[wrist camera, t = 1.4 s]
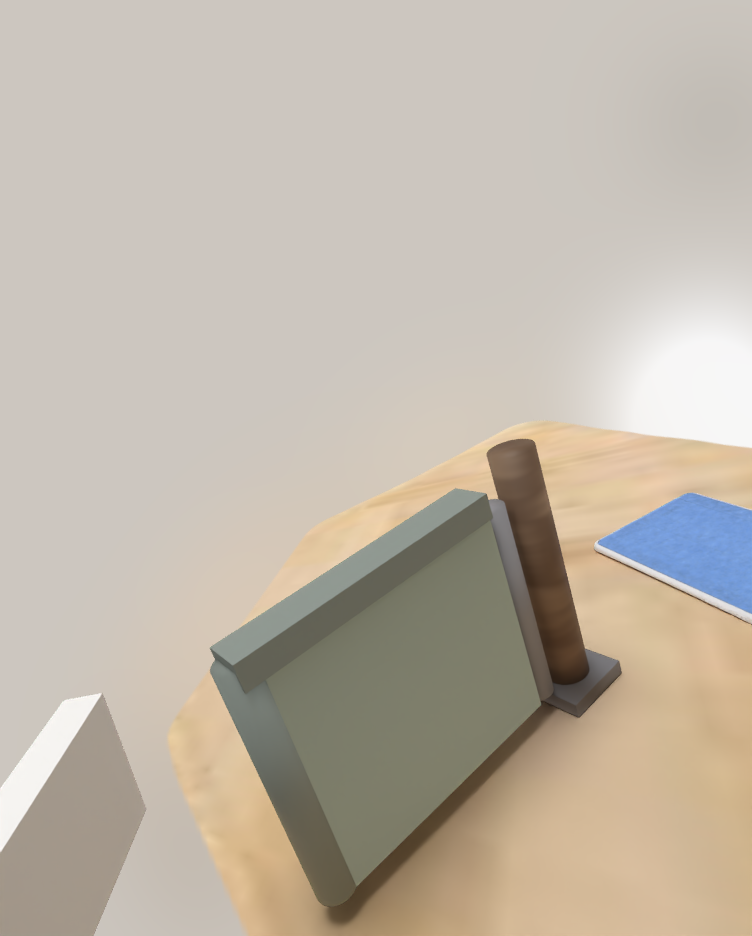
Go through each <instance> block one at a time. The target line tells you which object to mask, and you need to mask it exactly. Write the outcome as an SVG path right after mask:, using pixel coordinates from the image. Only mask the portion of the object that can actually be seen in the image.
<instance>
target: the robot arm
mask: <svg viewBox="0 0 752 936" xmlns="http://www.w3.org/2000/svg"><path fill="white" fill-rule="evenodd" d="M145 811H146V807H145V804H144V802H143V799H142V796H141V794H140V791H139V788H138V786H137V783H136V780H135V778H134V775H133V772H132V770H131V767H130V765H129V762H128V759H127V757H126V754H125V751H124V749H123V746H122V743H121V741H120V738H119V735H118V733H117V730H116V728H115V725H114V722H113V720H112V717H111V714H110V712H109V709H108V706H107V704H106V701H105V698H104V696H103V693H100V694H95V695H89V696H84V697H79V698H73V699H68V700H64V701H63V702H62V703H61V705H60V706H59V708H58V709H57V710H56V712H55V713H54V715H53V716H52V717H51V719H50V720H49V722H48V723H47V725H46V726H45V727H44V729H43V730H42V731H41V733H40V734H39V735H38V737H37V738H36V740H35V741H34V742H33V744H32V745H31V747H30V748H29V749H28V751H27V753H26V754H25V755H24V756H23V758H22V759H21V761H20V762H19V763H18V765H17V766H16V768H15V769H14V770H13V772H12V773H11V774H10V776H9V777H8V779H7V780H6V781H5V783H4V784H3V786H2V787H1V788H0V936H93V935H94V933H95V931H96V928H97V926H98V924H99V921H100V919H101V916H102V914H103V912H104V909H105V907H106V904H107V902H108V900H109V897H110V894H111V892H112V890H113V887H114V885H115V883H116V880H117V878H118V876H119V873H120V871H121V868H122V866H123V863H124V861H125V859H126V856H127V854H128V852H129V849H130V847H131V844H132V842H133V840H134V837H135V835H136V833H137V830H138V828H139V825H140V823H141V821H142V818H143V816H144V814H145Z"/></svg>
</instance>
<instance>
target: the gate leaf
mask: <svg viewBox="0 0 752 936" xmlns="http://www.w3.org/2000/svg"><path fill="white" fill-rule="evenodd" d="M210 649H211V652H212V654H213V656H214V658H215V661H214V662H213V664H212V666H211V669H210V673H211V675H212V677H213V679H214V681H215V683H216V685H217V688H218V690H219V692H220V694H221V696H222V698H223V700H224V702H225V705H226V707H227V709H228V711H229V713H230V715H231V717H232V719H233V721H234V724H235V726H236V728H237V730H238V732H239V734H240V736H241V738H242V741H243V743H244V745H245V747H246V749H247V751H248V753H249V755H250V757H251V760H252V762H253V764H254V766H255V768H256V770H257V772H258V774H259V777H260V779H261V781H262V783H263V785H264V787H265V789H266V791H267V793H268V796H269V798H270V800H271V802H272V804H273V806H274V808H275V810H276V813H277V815H278V817H279V819H280V821H281V823H282V825H283V827H284V829H285V832H286V834H287V836H288V838H289V840H290V842H291V844H292V846H293V849H294V851H295V853H296V855H297V857H298V859H299V861H300V863H301V865H302V868H303V870H304V872H305V874H306V876H307V878H308V880H309V882H310V885H311V887H312V889H313V891H314V893H315V895H316V897H317V899H318V901H319V902H320V903H321V904H322V905H324V906H328V907H334V906H338V905H340V904H342V903H344V902H346V901H347V900H348V899H349V898H350V897H351V896H352V895H353V893H354V892H355V890H356V887H357V886H358V885H359V884H360V883H361V882H362V881H363V880H364V879H365V878H366V877H367V876H368V875H369V874H370V873H371V872H372V871H373V870H374V869H375V868H376V867H377V866H378V865H379V864H380V863H381V862H382V861H383V860H384V859H385V858H386V857H387V856H388V855H389V854H390V853H391V852H392V851H393V850H394V849H396V848H397V847H398V846H399V845H400V844H401V843H402V842H403V841H404V840H405V839H406V838H407V837H408V836H409V835H410V834H411V833H412V832H413V831H414V830H415V829H416V828H417V827H418V826H419V825H420V824H421V823H422V822H423V821H424V820H425V819H426V818H427V817H428V816H429V815H430V814H431V813H432V812H433V811H434V810H435V809H436V808H437V807H438V806H439V805H440V804H441V803H442V802H443V801H444V800H445V799H446V798H447V797H448V796H449V795H450V794H451V793H452V792H453V791H454V790H455V789H456V788H457V787H459V786H460V785H461V784H462V783H463V782H464V781H465V780H466V779H467V778H468V777H469V776H470V775H471V774H472V773H473V772H474V771H475V770H476V769H477V768H478V767H479V766H480V765H481V764H482V763H483V762H484V761H485V760H486V759H487V758H488V757H489V756H490V755H491V754H492V753H493V752H494V751H495V750H496V749H497V748H498V747H499V746H500V745H501V744H502V743H503V742H504V741H505V740H506V739H507V738H508V737H509V736H510V735H511V734H512V733H513V732H514V731H515V730H516V729H517V728H518V727H519V726H520V725H522V724H523V723H524V722H525V721H526V720H527V719H528V718H529V717H530V716H531V715H532V714H533V713H534V712H535V711H536V710H537V709H538V708H539V707H540V706H541V701H540V700H544V699H547V698H548V697H550V696H551V695H552V694H553V692H554V686H553V683H552V679H551V675H550V671H549V668H548V664H547V660H546V656H545V653H544V649H543V645H542V641H541V638H540V634H539V630H538V626H537V623H536V619H535V615H534V611H533V608H532V604H531V600H530V596H529V593H528V589H527V585H526V581H525V578H524V574H523V570H522V566H521V563H520V559H519V555H518V551H517V548H516V544H515V540H514V536H513V533H512V529H511V525H510V521H509V518H508V514H507V510H506V506H505V503H504V501H502V500H499V499H492V500H488V497H487V494H486V493H480V492H474V491H468V490H462V489H456V488H455V489H454V490H452V491H451V492H449V493H448V494H446V495H444V496H443V497H441V498H440V499H438V500H437V501H435V502H434V503H432V504H431V505H429V506H427V507H426V508H424V509H423V510H421V511H420V512H418V513H417V514H415V515H414V516H412V517H410V518H409V519H407V520H406V521H404V522H403V523H401V524H400V525H398V526H397V527H395V528H393V529H392V530H390V531H389V532H387V533H386V534H384V535H383V536H381V537H380V538H378V539H377V540H375V541H373V542H372V543H370V544H369V545H367V546H366V547H364V548H363V549H361V550H360V551H358V552H356V553H355V554H353V555H352V556H350V557H349V558H347V559H346V560H344V561H343V562H341V563H339V564H338V565H336V566H335V567H333V568H332V569H330V570H329V571H327V572H326V573H324V574H323V575H321V576H319V577H318V578H316V579H315V580H313V581H312V582H310V583H309V584H307V585H306V586H304V587H302V588H301V589H299V590H298V591H296V592H295V593H293V594H292V595H290V596H289V597H287V598H285V599H284V600H282V601H281V602H279V603H278V604H276V605H275V606H273V607H272V608H270V609H269V610H267V611H265V612H264V613H262V614H261V615H259V616H258V617H256V618H255V619H253V620H252V621H250V622H248V623H247V624H245V625H244V626H242V627H241V628H239V629H238V630H236V631H235V632H233V633H231V634H230V635H228V636H227V637H225V638H224V639H222V640H221V641H219V642H218V643H216V644H215V645H213V646H211V647H210Z"/></svg>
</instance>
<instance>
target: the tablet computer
mask: <svg viewBox="0 0 752 936" xmlns="http://www.w3.org/2000/svg"><path fill="white" fill-rule="evenodd" d="M594 549H595V550H596V551H597V552H599V553H602V554H604V555H606V556H609V557H611V558H613V559H615V560H618V561H620V562H622V563H624V564H626V565H628V566H631V567H633V568H635V569H637V570H639V571H641V572H643V573H645V574H648V575H650V576H652V577H654V578H656V579H658V580H660V581H663V582H665V583H667V584H669V585H671V586H673V587H675V588H677V589H679V590H682V591H684V592H686V593H688V594H690V595H692V596H694V597H696V598H699V599H701V600H703V601H705V602H707V603H709V604H711V605H713V606H715V607H718V608H719V609H721V610H723V611H725V612H728V613H730V614H732V615H734V616H736V617H738V618H740V619H742V620H744V621H746V622H748V623H750V624H752V510H751V509H747V508H744V507H741V506H737V505H734V504H731V503H727V502H724V501H720V500H717V499H714V498H710V497H707V496H703V495H700V494H697V493H686V494H683V495H681V496H679V497H678V498H676V499H674V500H672V501H670V502H668V503H667V504H665V505H663V506H661V507H659V508H657V509H655V510H654V511H652V512H650V513H648V514H646V515H644V516H642V517H641V518H639V519H637V520H635V521H633V522H631V523H629V524H628V525H626V526H624V527H622V528H620V529H618V530H616V531H615V532H613V533H611V534H609V535H607V536H605V537H603V538H602V539H600V540H598V541H597V542H596V543H595V546H594Z"/></svg>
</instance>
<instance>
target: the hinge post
mask: <svg viewBox="0 0 752 936" xmlns="http://www.w3.org/2000/svg"><path fill="white" fill-rule="evenodd" d="M487 458H488V461H489V465H490V469H491V473H492V476H493V480H494V484H495V487H496V491H497V495H498V499H499V500H502V501H504V503H505V506H506V510H507V514H508V518H509V521H510V525H511V529H512V533H513V536H514V540H515V544H516V548H517V551H518V555H519V559H520V563H521V566H522V570H523V574H524V578H525V581H526V585H527V589H528V593H529V596H530V600H531V604H532V608H533V611H534V615H535V619H536V623H537V626H538V630H539V634H540V638H541V641H542V645H543V649H544V653H545V656H546V660H547V664H548V668H549V671H550V675H551V679H552V683H553V686H554V692H553V694H552V695H551V696H550V697H548V698H547V699H544V700H542V701H545V702H547V703H549V704H551V705H553V706H555V707H558V708H560V709H562V710H564V711H566V712H568V713H570V714H573V715H575V716H577V717H580V716H581V715H582V714H583V713H584V712H585V711H586V709H587V708H588V707H589V706H590V705H591V704H592V703H593V702H594V701H595V700H596V699H597V698H598V697H599V696H600V695H601V694H602V693H603V692H604V691H605V690H606V689H607V687H608V686H609V685H610V684H611V683H612V682H613V681H614V680H615V679H616V678H617V677H618V676H619V675H620V674H621V673H622V672H621V667H620V663H619V661H618V660H615V659H612V658H609V657H607V656H604V655H601V654H598V653H596V652H593V651H590V650H587V649H585V648H584V644H583V639H582V635H581V631H580V627H579V623H578V619H577V615H576V610H575V606H574V602H573V598H572V594H571V590H570V586H569V581H568V577H567V573H566V569H565V565H564V561H563V557H562V553H561V548H560V544H559V540H558V536H557V532H556V528H555V524H554V519H553V515H552V511H551V507H550V503H549V499H548V495H547V490H546V486H545V482H544V478H543V474H542V470H541V466H540V462H539V457H538V453H537V449H536V445H535V442H534V441H532V440H529V439H516V440H511V441H507V442H504V443H501V444H498V445H496V446H494V447H493V448H491V449H490V450H489V451H488V452H487Z"/></svg>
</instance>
